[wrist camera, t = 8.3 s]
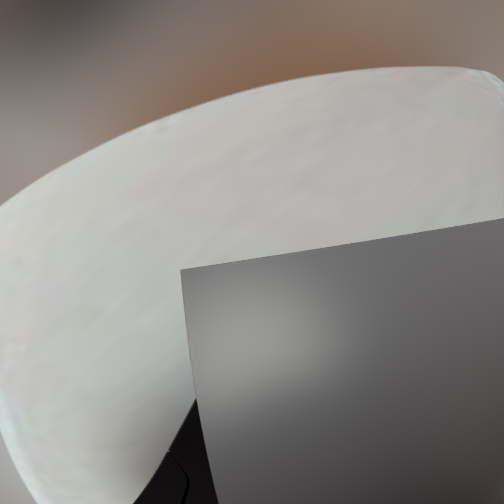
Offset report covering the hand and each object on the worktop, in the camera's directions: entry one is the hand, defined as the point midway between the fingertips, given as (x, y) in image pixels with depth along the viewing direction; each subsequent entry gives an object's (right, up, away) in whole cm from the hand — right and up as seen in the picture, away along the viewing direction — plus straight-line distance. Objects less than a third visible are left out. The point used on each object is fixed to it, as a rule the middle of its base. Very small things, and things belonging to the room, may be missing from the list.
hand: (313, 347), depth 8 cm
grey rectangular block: (0, -4, +6) cm, 7 cm away
